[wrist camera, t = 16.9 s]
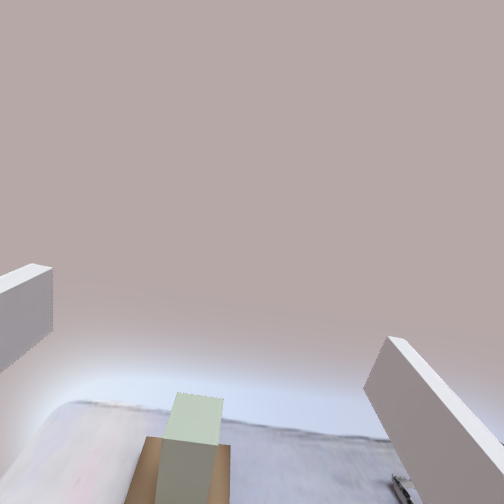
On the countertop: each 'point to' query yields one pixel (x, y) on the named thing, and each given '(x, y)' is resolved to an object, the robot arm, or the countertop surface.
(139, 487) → the walnut block
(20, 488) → the countertop surface
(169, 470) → the sage block
